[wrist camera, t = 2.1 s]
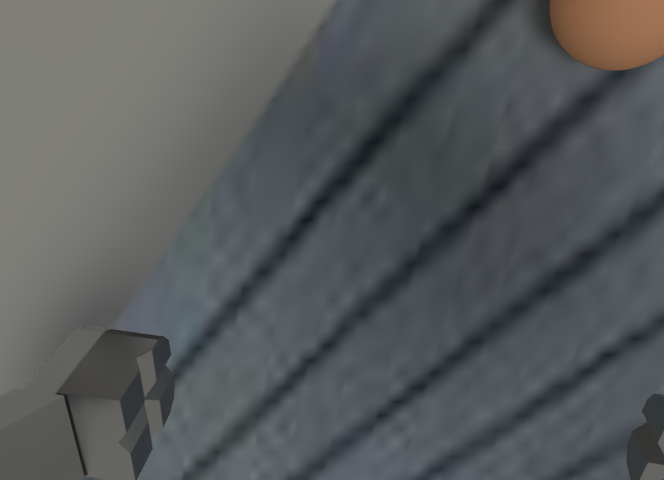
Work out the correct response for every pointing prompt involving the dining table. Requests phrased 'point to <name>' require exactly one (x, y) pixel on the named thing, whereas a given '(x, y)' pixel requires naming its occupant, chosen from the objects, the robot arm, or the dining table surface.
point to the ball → (610, 31)
